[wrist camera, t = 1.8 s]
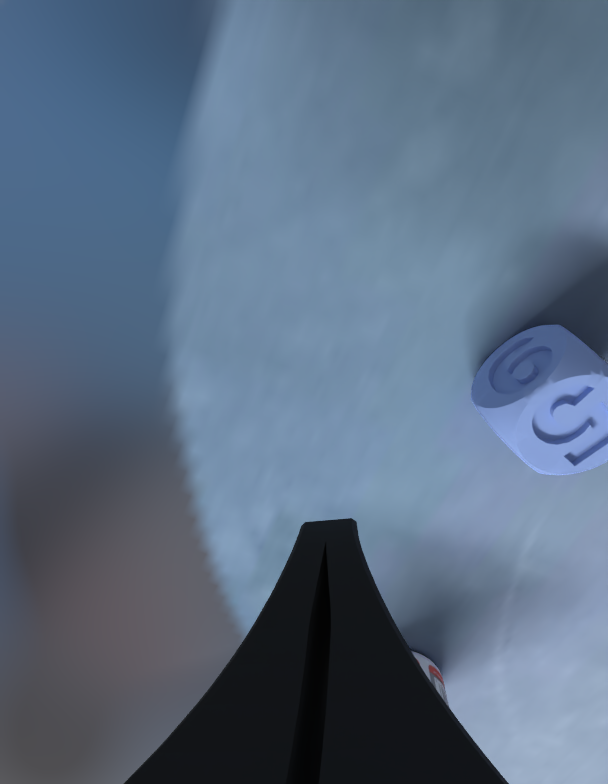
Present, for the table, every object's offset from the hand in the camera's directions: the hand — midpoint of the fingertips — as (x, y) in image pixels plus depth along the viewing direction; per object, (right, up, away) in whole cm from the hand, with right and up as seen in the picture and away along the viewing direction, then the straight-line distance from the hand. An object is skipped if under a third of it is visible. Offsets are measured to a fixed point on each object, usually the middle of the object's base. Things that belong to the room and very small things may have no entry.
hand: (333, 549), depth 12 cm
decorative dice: (+8, +5, +7) cm, 12 cm away
